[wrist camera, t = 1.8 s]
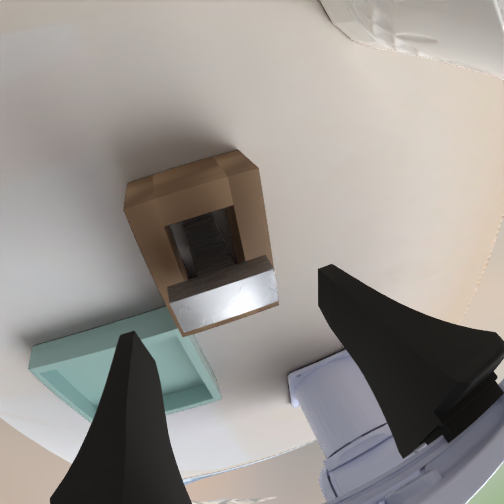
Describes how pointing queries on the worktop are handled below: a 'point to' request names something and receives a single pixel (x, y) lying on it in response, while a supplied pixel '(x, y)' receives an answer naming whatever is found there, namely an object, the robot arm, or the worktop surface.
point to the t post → (219, 281)
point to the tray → (101, 355)
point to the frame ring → (194, 204)
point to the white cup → (428, 29)
